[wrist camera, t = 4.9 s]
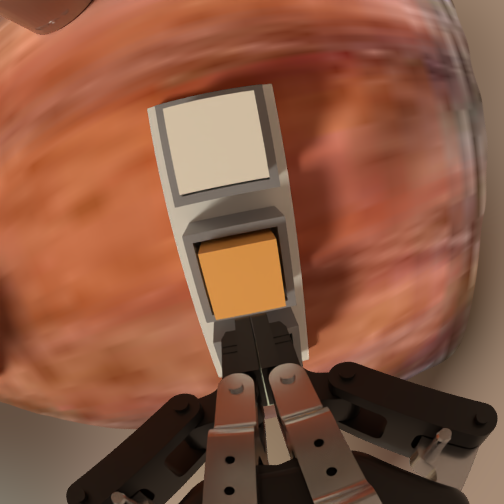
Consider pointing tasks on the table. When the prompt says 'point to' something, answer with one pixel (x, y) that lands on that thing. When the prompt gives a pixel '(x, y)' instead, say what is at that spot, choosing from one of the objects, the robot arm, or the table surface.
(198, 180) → the cream key
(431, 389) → the robot arm
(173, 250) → the table surface
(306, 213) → the table surface
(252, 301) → the orange key
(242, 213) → the key panel
